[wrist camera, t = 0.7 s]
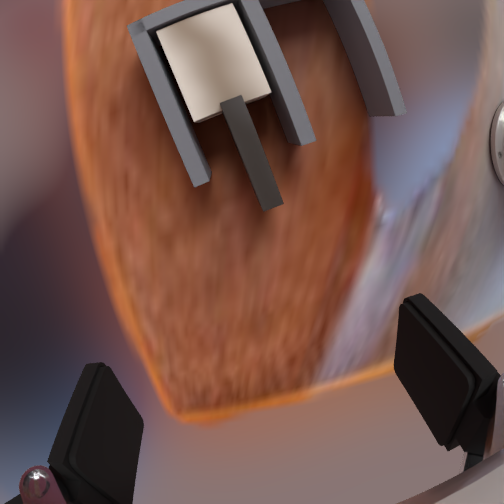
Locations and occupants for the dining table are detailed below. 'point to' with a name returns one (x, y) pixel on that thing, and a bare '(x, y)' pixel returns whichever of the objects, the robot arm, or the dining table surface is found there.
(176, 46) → the cream block
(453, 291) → the dining table surface
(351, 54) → the lane rack
